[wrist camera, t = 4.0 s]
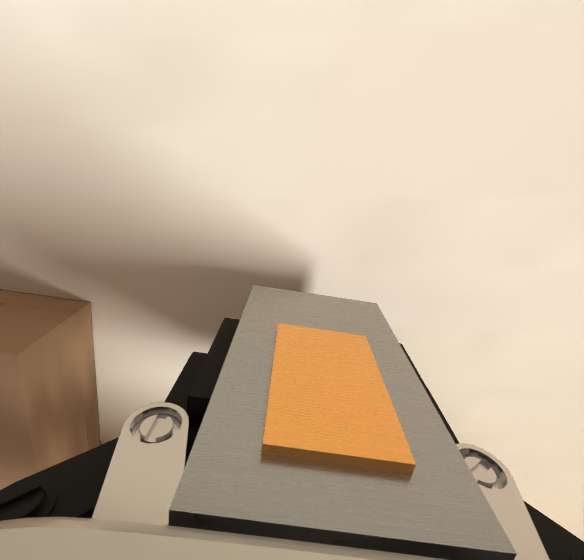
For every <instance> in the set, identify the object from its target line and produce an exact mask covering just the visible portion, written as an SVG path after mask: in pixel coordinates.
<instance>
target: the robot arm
mask: <svg viewBox="0 0 584 560" xmlns="http://www.w3.org/2000/svg"><path fill="white" fill-rule="evenodd" d="M239 321H240V320H237V319H230V318H225V319H224V320H223V323H222V325H221V327H220V329H219V331H218V333H217V335H216V337H215V339H214V341H213V344H212V346H211V348H210V350H209V352H208V354H206V353H199V352H193V353H192V354H191V356H190V358H189V359H188V361H187V363H186V365H185V366H184V368H183V370H182V372H181V374H180V375H179V377H178V379H177V381H176V382H175V384H174V386H173V388H172V390H171V391H170V393H169V395H168V397H167V399H166V400H165V402H159V403H152V404H149V405H146V406H143V407H141V408H139V409H137V410H136V411H134V412H133V413H132V414H131V415H130V416H129V417H128V418H127V419H126V421H125V423H124V425H123V427H122V430H121V433H120V436H119V437H118V438H116V439H114V440H112V441H109V442H107V443H105V444H102V445H100V446H98V447H95V448H93V449H91V450H88V451H86V452H84V453H81V454H79V455H77V456H74V457H72V458H70V459H67V460H65V461H63V462H61V463H58V464H56V465H54V466H51V467H49V468H47V469H44V470H42V471H40V472H37V473H35V474H33V475H30V476H28V477H26V478H23V479H21V480H19V481H17V482H14V483H13V484H11V485H9V486H7V487H5V488H3V489H1V490H0V560H447V559H440V558H432V557H424V556H416V555H409V554H401V553H393V552H385V551H377V550H369V549H361V548H353V547H345V546H337V545H328V544H320V543H312V542H304V541H296V540H288V539H280V538H271V537H263V536H254V535H246V534H237V533H229V532H220V531H212V530H203V529H195V528H186V527H178V526H169V525H168V522H169V508H170V506H171V503H172V500H173V498H174V495H175V492H176V490H177V487H178V484H179V482H180V479H181V476H182V474H183V471H184V468H185V466H186V463H187V460H188V458H189V455H190V452H191V450H192V447H193V444H194V442H195V439H196V436H197V434H198V431H199V428H200V426H201V423H202V420H203V418H204V415H205V412H206V410H207V407H208V404H209V402H210V399H211V396H212V394H213V391H214V388H215V386H216V383H217V380H218V378H219V375H220V372H221V370H222V367H223V364H224V362H225V359H226V356H227V354H228V351H229V348H230V346H231V343H232V340H233V337H234V335H235V332H236V329H237V327H238V324H239ZM399 344H400V343H399ZM400 346H401V348H402V349H403V351H404V353H405V355H406V357H407V358H408V360H409V362H410V364H411V365H412V367H413V369H414V371H415V373H416V374H417V376H418V378H419V380H420V381H421V383H422V385H423V387H424V389H425V390H426V392H427V394H428V396H429V398H430V399H431V401H432V403H433V405H434V406H435V408H436V410H437V412H438V414H439V415H440V417H441V419H442V421H443V422H444V424H445V426H446V428H447V430H448V431H449V433H450V435H451V437H452V438H453V440H454V442H455V444H456V446H457V447H458V449H459V451H460V453H461V455H462V456H463V458H464V460H465V462H466V463H467V465H468V467H469V469H470V471H471V472H472V474H473V476H474V478H475V479H476V481H477V483H478V485H479V487H480V488H481V490H482V492H483V494H484V496H485V497H486V499H487V501H488V503H489V504H490V506H491V508H492V510H493V512H494V513H495V515H496V517H497V519H498V520H499V522H500V524H501V526H502V528H503V529H504V531H505V533H506V535H507V537H508V538H509V540H510V542H511V544H512V545H513V547H514V549H515V551H516V553H517V555H516V557H515V559H514V560H584V542H583V541H582V540H580V539H579V538H577V537H576V536H574V535H573V534H572V533H570V532H569V531H567V530H566V529H564V528H563V527H561V526H560V525H558V524H557V523H555V522H554V521H552V520H551V519H550V518H548V517H547V516H545V515H544V514H542V513H541V512H539V511H538V510H536V509H535V508H533V507H532V506H531V505H529V504H528V503H526V502H525V501H523V499H522V497H521V495H520V492H519V490H518V488H517V486H516V484H515V481H514V479H513V477H512V475H511V474H510V472H509V470H508V469H507V468H506V467H505V466H504V465H503V463H502V462H501V461H499V460H498V459H497V458H496V457H494V456H493V455H492V454H490V453H489V452H487V451H485V450H484V449H482V448H479V447H477V446H474V445H470V444H465V443H462V444H460V443H459V442H458V440H457V438H456V436H455V435H454V433H453V431H452V430H451V428H450V426H449V424H448V423H447V421H446V419H445V417H444V416H443V414H442V412H441V410H440V409H439V407H438V405H437V404H436V402H435V400H434V398H433V397H432V395H431V393H430V391H429V390H428V388H427V387H426V385H425V384H424V382H423V380H422V378H421V377H420V375H419V373H418V371H417V370H416V368H415V366H414V364H413V363H412V361H411V359H410V357H409V356H408V354H407V352H406V350H405V349H404V347H403V345H402V344H400Z"/></svg>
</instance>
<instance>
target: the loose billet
mask: <svg viewBox="0 0 584 560" xmlns="http://www.w3.org/2000/svg"><path fill="white" fill-rule="evenodd" d="M168 525H169V526H178V527H186V528H195V529H203V530H212V531H220V532H229V533H237V534H246V535H254V536H263V537H271V538H280V539H288V540H296V541H304V542H312V543H320V544H328V545H337V546H345V547H353V548H361V549H369V550H377V551H385V552H393V553H401V554H409V555H416V556H424V557H432V558H440V559H447V560H514V559H515V557H516V555H517V553H516V551H515V549H514V547H513V545H512V544H511V542H510V540H509V538H508V537H507V535H506V533H505V531H504V529H503V528H502V526H501V524H500V522H499V520H498V519H497V517H496V515H495V513H494V512H493V510H492V508H491V506H490V504H489V503H488V501H487V499H486V497H485V496H484V494H483V492H482V490H481V488H480V487H479V485H478V483H477V481H476V479H475V478H474V476H473V474H472V472H471V471H470V469H469V467H468V465H467V463H466V462H465V460H464V458H463V456H462V455H461V453H460V451H459V449H458V447H457V446H456V444H455V442H454V440H453V438H452V437H451V435H450V433H449V431H448V430H447V428H446V426H445V424H444V422H443V421H442V419H441V417H440V415H439V414H438V412H437V410H436V408H435V406H434V405H433V403H432V401H431V399H430V398H429V396H428V394H427V392H426V390H425V389H424V387H423V385H422V383H421V381H420V380H419V378H418V376H417V374H416V373H415V371H414V369H413V367H412V365H411V364H410V362H409V360H408V358H407V357H406V355H405V353H404V351H403V349H402V348H401V346H400V344H399V342H398V340H397V339H396V337H395V335H394V333H393V332H392V330H391V328H390V326H389V324H388V323H387V321H386V319H385V317H384V316H383V314H382V312H381V310H380V308H379V307H378V305H377V304H376V303H370V302H363V301H357V300H350V299H343V298H337V297H330V296H324V295H317V294H311V293H304V292H297V291H291V290H284V289H278V288H271V287H265V286H258V285H253V287H252V289H251V292H250V295H249V297H248V300H247V303H246V305H245V308H244V311H243V313H242V316H241V319H240V321H239V324H238V327H237V329H236V332H235V335H234V337H233V340H232V343H231V346H230V348H229V351H228V354H227V356H226V359H225V362H224V364H223V367H222V370H221V372H220V375H219V378H218V380H217V383H216V386H215V388H214V391H213V394H212V396H211V399H210V402H209V404H208V407H207V410H206V412H205V415H204V418H203V420H202V423H201V426H200V428H199V431H198V434H197V436H196V439H195V442H194V444H193V447H192V450H191V452H190V455H189V458H188V460H187V463H186V466H185V468H184V471H183V474H182V476H181V479H180V482H179V484H178V487H177V490H176V492H175V495H174V498H173V500H172V503H171V506H170V508H169V522H168Z"/></svg>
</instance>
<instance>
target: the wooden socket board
mask: <svg viewBox="0 0 584 560" xmlns="http://www.w3.org/2000/svg"><path fill="white" fill-rule="evenodd" d="M100 445H101V444H100V430H99V416H98V402H97V388H96V374H95V360H94V346H93V332H92V318H91V303H90V302H83V301H76V300H69V299H61V298H54V297H47V296H40V295H33V294H26V293H19V292H12V291H5V290H0V490H1V489H3V488H5V487H7V486H9V485H11V484H13V483H14V482H17V481H19V480H21V479H23V478H26V477H28V476H30V475H33V474H35V473H37V472H40V471H42V470H44V469H47V468H49V467H51V466H54V465H56V464H58V463H61V462H63V461H65V460H67V459H70V458H72V457H74V456H77V455H79V454H81V453H84V452H86V451H88V450H91V449H93V448H95V447H98V446H100Z"/></svg>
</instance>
